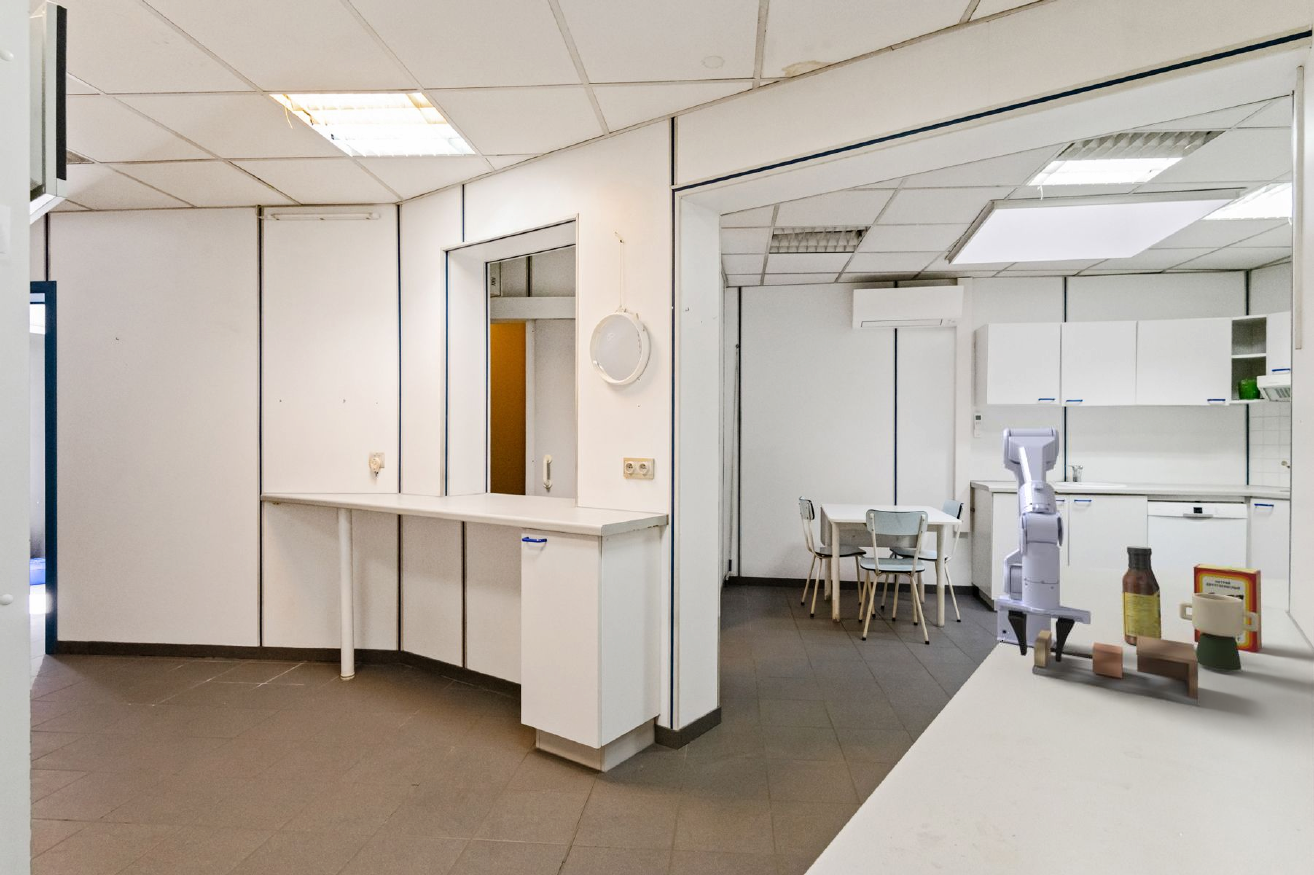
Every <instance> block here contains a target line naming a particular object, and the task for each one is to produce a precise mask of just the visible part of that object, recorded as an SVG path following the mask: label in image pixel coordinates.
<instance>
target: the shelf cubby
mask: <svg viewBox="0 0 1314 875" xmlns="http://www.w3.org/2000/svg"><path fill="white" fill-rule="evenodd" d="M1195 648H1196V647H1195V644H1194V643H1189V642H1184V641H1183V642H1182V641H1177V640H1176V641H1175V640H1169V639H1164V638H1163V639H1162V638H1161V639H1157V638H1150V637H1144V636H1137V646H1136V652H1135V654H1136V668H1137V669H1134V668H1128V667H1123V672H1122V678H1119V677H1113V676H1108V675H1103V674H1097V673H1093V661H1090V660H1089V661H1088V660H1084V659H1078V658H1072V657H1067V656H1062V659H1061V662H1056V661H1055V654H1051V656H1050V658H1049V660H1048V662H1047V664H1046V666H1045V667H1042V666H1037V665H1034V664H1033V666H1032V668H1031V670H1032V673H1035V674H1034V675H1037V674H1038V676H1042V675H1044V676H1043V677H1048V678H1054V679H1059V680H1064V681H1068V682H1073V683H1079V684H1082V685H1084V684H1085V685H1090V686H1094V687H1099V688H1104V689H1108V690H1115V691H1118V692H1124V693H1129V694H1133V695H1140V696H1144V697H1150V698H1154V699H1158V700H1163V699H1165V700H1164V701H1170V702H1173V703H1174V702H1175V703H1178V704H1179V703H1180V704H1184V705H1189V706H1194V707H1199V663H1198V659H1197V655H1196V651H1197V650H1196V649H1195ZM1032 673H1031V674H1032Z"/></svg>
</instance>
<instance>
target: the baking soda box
mask: <svg viewBox="0 0 1314 875" xmlns="http://www.w3.org/2000/svg"><path fill="white" fill-rule="evenodd" d="M1261 574H1262V571H1261V570H1260V569H1253V568H1244V567H1239V566H1232V565H1231V566H1225V565H1222V566H1221V565H1214V564H1205V563H1198V564H1196V565H1194V566H1193V594H1195V593H1207V594H1218V595H1225V596H1231V597H1235V598H1239V599H1241V600H1243V603H1244V611H1247V612H1254V613H1256V614H1257V615H1258V626H1259V629H1258V631H1248V630H1244V632H1243V634H1242V635H1241V636H1236V637H1233V638H1234V639H1235V640H1236V642H1237V646H1238V651H1243V652H1247V653H1253V654H1258V653H1259V651H1260V650H1261V649H1262V648H1263V647H1262V644H1263V643H1262V587H1261V586H1262V583H1261V582H1262V575H1261ZM1244 624H1245V625H1251V618H1250V617H1244ZM1193 629H1194V634H1193V636H1194V638H1193V639H1194V641H1195V642H1194V643H1198V640H1199V636H1200V634H1201V633H1203V632H1201V631H1198V630H1196V629H1195V628H1194V627H1193Z"/></svg>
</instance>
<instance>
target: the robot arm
mask: <svg viewBox="0 0 1314 875" xmlns="http://www.w3.org/2000/svg"><path fill="white" fill-rule="evenodd" d="M1059 452H1060V433H1059V431H1058V430H1057V429H1056V428H1055V427H1051V428H1010V427H1009V428H1007V427H1006V428H1005V429H1004V430H1003V431H1002V456H1003V458H1002V462H1003V464H1004V468H1005V469H1007V470H1009V471H1011V472H1013V474H1014V478H1015V480H1016V496H1017V498H1016V499H1017V500H1016V502H1017V503H1016V504H1017V505H1016V506H1017V507H1016V510H1017V549H1016V550H1014V551H1012V552H1010V553H1009V554H1007V555H1006V556H1005V557H1004V559H1003V566H1002V589H1003V592H1004V594H1005V595H1002V594H1001V595H999V598H998V597H997V598H995V599H994V601H993V602H994V603H993V605H994V606H993V607H994V608H993V610H994V611H995V612H996V611H997V638H996V640H997V641H999V642H1004V643H1011V644H1016V645H1018V647H1019V651H1020V656H1023V657H1026V655H1027V653H1028V647H1033V648H1034V642H1035V640H1036V638H1037V637H1038V635H1039V633H1040V632H1041V630H1044V631H1050V632H1052V619H1056V621H1055V637H1056V638H1053V637H1052V648H1054V644H1056V646H1055V648H1056V653H1055V654H1054V655H1055V661H1056V662H1061V659H1062V657H1063V654H1062V652H1063V650H1064V647H1065V645H1066V641H1067V638H1068V637H1069V635H1070V633H1071V631H1072V630H1073V628H1074V626H1075V623H1076V622H1077V623H1082V624H1083V625H1091V621H1092V619H1091V618H1092V617H1091V613H1092V612H1091V611H1090V610H1084V609H1079V608H1073V607H1069V606H1064V605H1061V602H1060V601H1061V594H1060V593H1061V587H1060V586H1061V584H1060V583H1061V581H1060V580H1061V578H1060V576H1061V575H1060V574H1061V573H1060V569H1061V568H1060V565H1061V564H1060V563H1061V562H1060V560H1061V559H1060V558H1061V557H1060V556H1061V555H1060V554H1061V553H1060V552H1061V551H1060V550H1061V548H1060V547H1062V546H1063V542H1064V534H1065V533H1064V532H1065V531H1064V529H1065V528H1064V521H1063V517H1062V514H1061V512H1060V509H1057V508H1058V507H1057V500H1056V494H1055V489H1054V487H1053V485H1051V484H1050V483H1048V482H1047V472H1049V471H1051V470H1054V467H1055V465H1056V464H1057V461H1058V460H1057V459H1058V456H1059V454H1060V453H1059ZM1058 544H1059V546H1058ZM1014 564H1015V565H1014ZM1017 564H1021V565H1017ZM1008 632H1009V633H1008ZM1004 637H1005V639H1004V640H1003V638H1004ZM1002 640H1003V641H1002Z"/></svg>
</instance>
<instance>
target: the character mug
mask: <svg viewBox="0 0 1314 875" xmlns="http://www.w3.org/2000/svg"><path fill="white" fill-rule="evenodd" d="M1178 606H1179V617H1180V619H1183V620H1187V621H1191V624H1192V627H1193V629H1194V628H1195V629H1196V630H1198V631H1201V632H1203V633H1201V634H1200V636H1199V640H1198V642H1197V647H1196V650H1195V651H1196V655H1197V659H1198V665H1201V666H1204V667H1206V668H1207V669H1208V668H1209V669H1212V670H1218V671H1227V672H1231V671H1238V670H1242V664H1241V656H1240V654H1239V653H1240V652H1239V651H1240V650H1238V646H1237V642H1236V640H1235V639H1234V638H1233V637H1236V636H1241V635H1242V634H1243V632H1244V630H1248V631H1258V629H1259V626H1258V615H1257V614H1256V613H1254V612H1247V611H1244V603H1243V600H1241V599H1239V598H1235V597H1231V596H1225V595H1218V594H1207V593H1195V594H1194V593H1192V595H1191V602H1190V601H1180V602H1179V605H1178ZM1187 608H1191V614H1187ZM1244 617H1250V618H1251V625H1245V624H1244Z"/></svg>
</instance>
